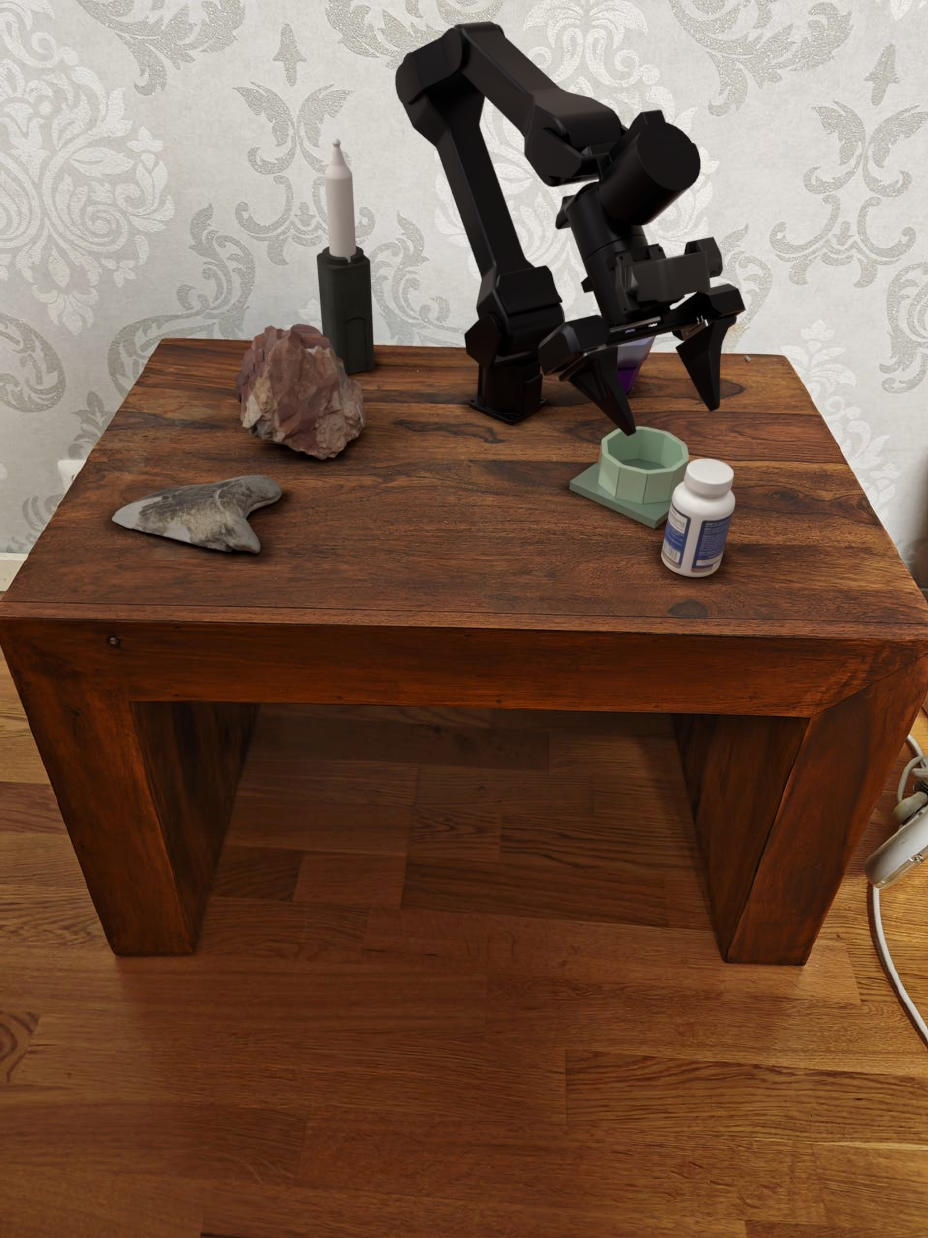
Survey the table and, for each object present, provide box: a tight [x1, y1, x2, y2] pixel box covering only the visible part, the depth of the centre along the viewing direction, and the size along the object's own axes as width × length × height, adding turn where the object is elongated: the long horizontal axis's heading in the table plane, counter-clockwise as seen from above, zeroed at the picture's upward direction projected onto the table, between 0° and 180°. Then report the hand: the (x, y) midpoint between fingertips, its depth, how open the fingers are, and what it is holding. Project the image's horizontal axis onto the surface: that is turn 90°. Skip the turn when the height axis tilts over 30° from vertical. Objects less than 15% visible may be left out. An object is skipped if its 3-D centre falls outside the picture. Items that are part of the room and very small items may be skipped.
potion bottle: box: [598, 314, 657, 396], centre depth 109 cm, size 9×9×12 cm
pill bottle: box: [660, 458, 736, 578], centre depth 85 cm, size 5×5×10 cm
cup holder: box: [568, 425, 690, 530], centre depth 96 cm, size 10×10×4 cm
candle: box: [316, 137, 376, 376], centre depth 107 cm, size 5×5×25 cm
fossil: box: [111, 474, 283, 554], centre depth 90 cm, size 11×5×15 cm
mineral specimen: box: [235, 323, 367, 461], centre depth 100 cm, size 12×13×15 cm
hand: (674, 421), depth 84 cm, fingers open, 9 cm apart
